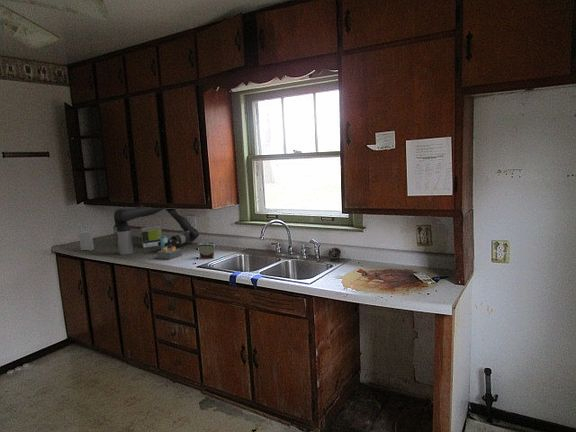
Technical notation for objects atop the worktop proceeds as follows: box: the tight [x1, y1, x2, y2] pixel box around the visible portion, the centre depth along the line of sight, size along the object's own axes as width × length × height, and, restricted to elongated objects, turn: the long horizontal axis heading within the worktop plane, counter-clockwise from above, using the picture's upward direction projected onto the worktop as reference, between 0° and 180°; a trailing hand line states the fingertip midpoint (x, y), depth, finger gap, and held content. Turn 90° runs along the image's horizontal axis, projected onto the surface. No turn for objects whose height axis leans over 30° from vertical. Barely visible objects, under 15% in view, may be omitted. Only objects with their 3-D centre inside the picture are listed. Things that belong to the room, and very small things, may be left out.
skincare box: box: [77, 230, 95, 251], centre depth 309 cm, size 8×6×15 cm
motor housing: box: [156, 245, 183, 261], centre depth 273 cm, size 11×12×6 cm
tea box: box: [140, 225, 163, 248], centre depth 315 cm, size 15×10×15 cm, turn 115°
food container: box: [197, 241, 216, 260], centre depth 266 cm, size 12×6×10 cm, turn 74°
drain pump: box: [160, 235, 169, 251], centre depth 288 cm, size 5×5×12 cm
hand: (161, 244), depth 286 cm, fingers open, 6 cm apart
